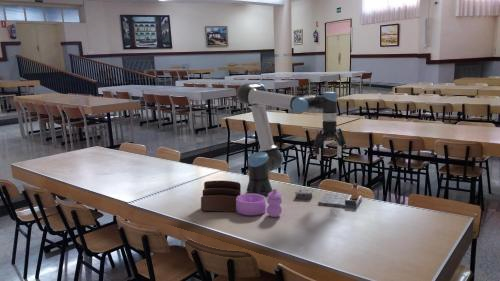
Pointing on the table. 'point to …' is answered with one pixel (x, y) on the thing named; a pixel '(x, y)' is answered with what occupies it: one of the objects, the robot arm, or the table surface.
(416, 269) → the table surface
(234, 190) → the letter holder
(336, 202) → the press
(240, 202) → the container set
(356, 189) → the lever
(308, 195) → the electrical switch
